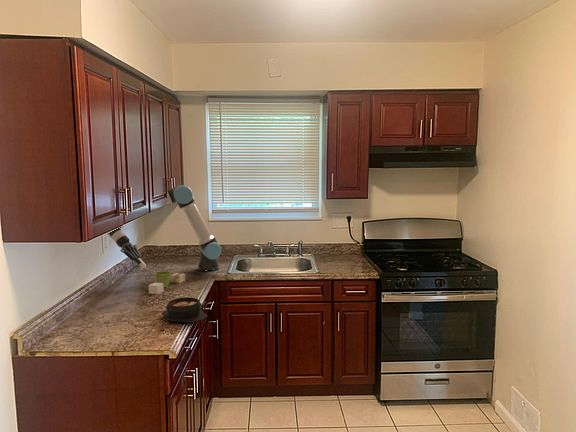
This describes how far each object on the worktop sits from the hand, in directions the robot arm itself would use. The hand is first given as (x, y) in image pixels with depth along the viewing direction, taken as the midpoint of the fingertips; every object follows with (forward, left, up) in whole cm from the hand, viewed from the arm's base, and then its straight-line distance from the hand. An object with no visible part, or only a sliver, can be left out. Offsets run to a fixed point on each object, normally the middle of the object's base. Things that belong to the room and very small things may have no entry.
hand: (144, 267), depth 274 cm
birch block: (-7, +19, -12) cm, 23 cm away
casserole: (+62, +37, -12) cm, 73 cm away
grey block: (+16, +11, -12) cm, 23 cm away
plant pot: (+4, +12, -12) cm, 17 cm away
